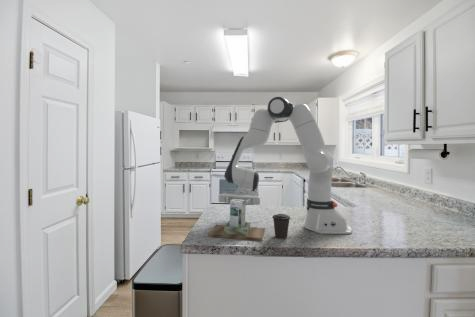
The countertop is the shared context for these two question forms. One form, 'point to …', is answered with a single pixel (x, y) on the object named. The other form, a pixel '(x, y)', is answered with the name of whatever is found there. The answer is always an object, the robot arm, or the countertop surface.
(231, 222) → the syrup box
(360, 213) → the countertop surface
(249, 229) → the collar stand
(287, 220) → the coffee cup
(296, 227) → the countertop surface
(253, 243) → the countertop surface
